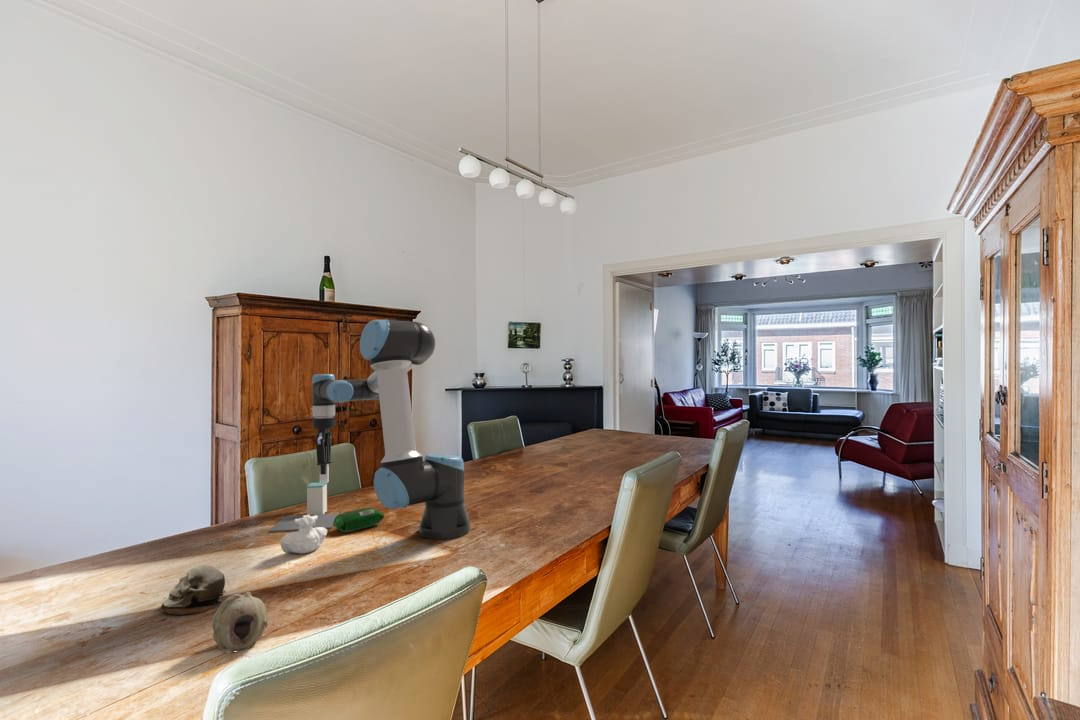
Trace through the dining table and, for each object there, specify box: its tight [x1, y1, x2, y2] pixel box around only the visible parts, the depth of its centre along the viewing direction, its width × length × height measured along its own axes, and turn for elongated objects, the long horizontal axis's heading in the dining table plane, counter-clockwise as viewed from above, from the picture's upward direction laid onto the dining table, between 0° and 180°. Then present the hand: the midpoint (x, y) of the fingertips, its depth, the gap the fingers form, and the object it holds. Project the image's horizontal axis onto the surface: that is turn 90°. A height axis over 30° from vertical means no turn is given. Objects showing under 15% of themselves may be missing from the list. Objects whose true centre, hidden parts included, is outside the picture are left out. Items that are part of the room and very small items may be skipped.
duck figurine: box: [279, 514, 328, 555], centre depth 134 cm, size 12×8×11 cm
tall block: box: [306, 481, 328, 515], centre depth 168 cm, size 5×5×10 cm
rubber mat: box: [268, 512, 342, 533], centre depth 158 cm, size 14×18×1 cm
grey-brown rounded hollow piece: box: [211, 591, 270, 654], centre depth 90 cm, size 9×8×10 cm
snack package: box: [333, 507, 385, 534], centre depth 154 cm, size 7×16×5 cm, turn 132°
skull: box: [160, 564, 227, 616], centre depth 106 cm, size 12×10×10 cm
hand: (324, 482), depth 176 cm, fingers closed
